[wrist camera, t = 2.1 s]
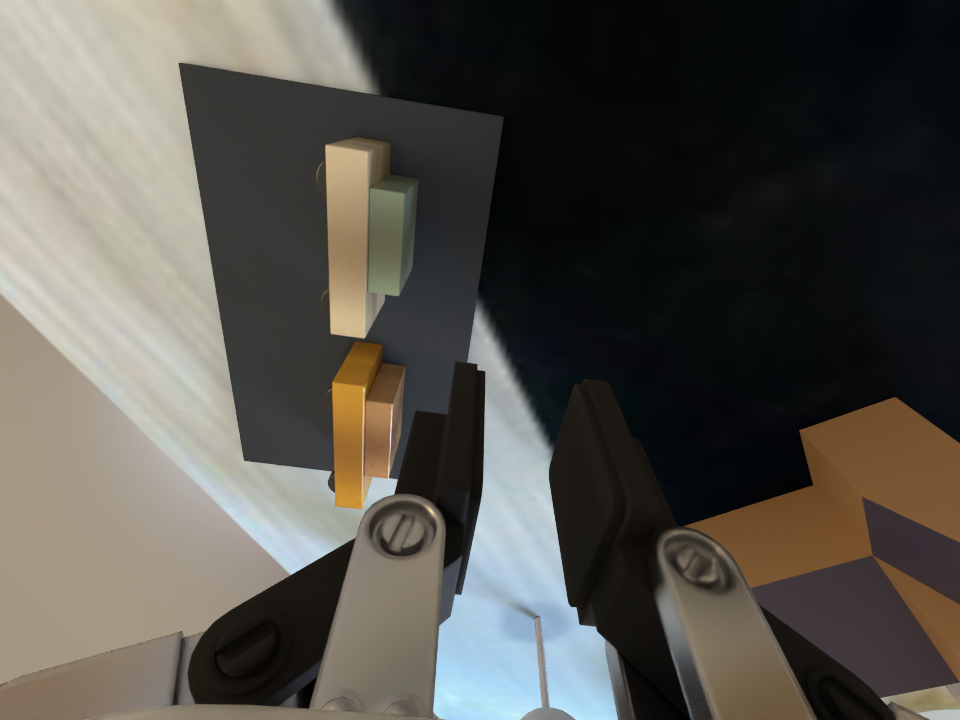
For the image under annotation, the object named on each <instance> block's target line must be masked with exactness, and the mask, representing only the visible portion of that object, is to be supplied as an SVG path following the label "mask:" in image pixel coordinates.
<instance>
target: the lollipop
mask: <svg viewBox="0 0 960 720" xmlns="http://www.w3.org/2000/svg"><path fill="white" fill-rule="evenodd" d="M535 631H536V642H537V654H538V666H539V678H540V689H541V701H542V708H538V709H535V710H533V711H531V712H529V713H527V714H526V715H525V716H524V717H523V718H522V719H521V720H575V719H574V718H573V717H571V716H570V715H569V714H567V713H566V712H564V711H562V710H559V709H556V708H550V704H549V693H548V683H547V673H546V663H545V653H544V642H543V632H542V622H541V618H540V617H536V618H535Z"/></svg>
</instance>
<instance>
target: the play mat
mask: <svg viewBox="0 0 960 720" xmlns="http://www.w3.org/2000/svg"><path fill="white" fill-rule="evenodd" d="M179 69H180V75H181V81H182V87H183V93H184V99H185V105H186V111H187V117H188V123H189V129H190V135H191V141H192V147H193V153H194V160H195V166H196V172H197V178H198V184H199V190H200V196H201V202H202V208H203V214H204V220H205V226H206V232H207V238H208V244H209V251H210V257H211V263H212V269H213V275H214V281H215V287H216V293H217V299H218V305H219V311H220V317H221V323H222V329H223V335H224V341H225V348H226V354H227V360H228V366H229V372H230V378H231V384H232V390H233V396H234V402H235V408H236V414H237V420H238V426H239V432H240V439H241V445H242V451H243V457H244V461H251V462H259V463H268V464H276V465H284V466H292V467H301V468H309V469H317V470H326V471H332V470H333V469H334V433H333V411H331V410H330V409H329V408H328V407H327V405H326V403H325V394H326V392H327V391H328V389H329V387H330V385H331V384H332V382H333V380H334V378H335V377H336V375H337V373H338V371H339V370H340V368H341V366H342V364H343V363H344V361H345V359H346V357H347V356H348V354H349V352H350V350H351V349H352V347H353V345H354V343H355V342H356V341H358V342H366V343H373V344H380V345H383V355H382V363H386V364H394V365H401V366H405V380H404V395H403V409H402V423H401V436H400V439H399V443H398V447H397V450H396V454H395V458H394V461H393V465H392V469H391V472H390V476H389V478H392V479H398V478H399V474H400V470H401V466H402V462H403V458H404V454H405V450H406V446H407V442H408V438H409V433H410V429H411V425H412V421H413V417H414V414H415V411H416V410H417V411H425V412H433V413H441V414H448V409H449V402H450V395H451V387H452V380H453V373H454V366H455V361H456V362H464V363H467V359H468V352H469V345H470V339H471V332H472V325H473V319H474V312H475V306H476V299H477V292H478V286H479V279H480V272H481V266H482V259H483V253H484V246H485V239H486V233H487V226H488V220H489V213H490V206H491V200H492V193H493V186H494V180H495V173H496V167H497V160H498V153H499V147H500V140H501V133H502V127H503V120H504V117H503V116H497V115H491V114H485V113H479V112H473V111H467V110H461V109H455V108H449V107H443V106H437V105H431V104H425V103H419V102H413V101H407V100H401V99H395V98H389V97H383V96H377V95H371V94H365V93H359V92H353V91H347V90H341V89H335V88H329V87H323V86H317V85H311V84H305V83H299V82H293V81H287V80H281V79H275V78H269V77H263V76H257V75H251V74H245V73H239V72H233V71H227V70H221V69H215V68H209V67H203V66H197V65H191V64H185V63H179ZM357 137H359V138H365V139H371V140H377V141H383V142H389V143H390V144H391V151H390V175H396V176H402V177H409V178H415V179H418V195H417V209H416V224H415V238H414V252H413V266H412V270H411V272H410V274H409V276H408V278H407V280H406V282H405V284H404V286H403V289H402V291H401V293H400V295H399V296H393V295H386V294H385V302H384V304H383V305H382V307H381V309H380V311H379V313H378V315H377V317H376V318H375V320H374V322H373V324H372V326H371V328H370V329H369V331H368V333H367V335H366V337H365V338H357V337H350V336H343V335H335V334H331V328H330V318H329V317H328V316H327V315H326V314H325V312H324V311H323V309H322V305H321V298H322V295H323V293H324V292H325V291H326V290H327V289H328V287H329V257H328V221H327V199H326V198H325V197H324V196H323V195H322V193H321V192H320V190H319V188H318V185H317V181H316V174H317V170H318V167H319V166H320V164H321V163H322V162H323V161H324V160H326V150H325V146H326V145H327V144H331V143H335V142H340V141H344V140H348V139H352V138H357Z"/></svg>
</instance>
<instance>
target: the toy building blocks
mask: <svg viewBox="0 0 960 720" xmlns="http://www.w3.org/2000/svg"><path fill="white" fill-rule="evenodd" d="M799 431H800V435H801V439H802V443H803V447H804V451H805V455H806V459H807V463H808V467H809V471H810V475H811V478H812V482H813V485H812V486H809V487H806V488H803V489H800V490H797V491H794V492H790V493H787V494H784V495H781V496H778V497H775V498H771V499H768V500H765V501H762V502H759V503H756V504H752V505H749V506H746V507H743V508H740V509H737V510H733V511H730V512H727V513H724V514H721V515H718V516H714V517H711V518H708V519H705V520H702V521H699V522H696V523H692V524H689V525H686V526H683V527H688V528H692V529H696V530H698V531H700V532H702V533H705V534H707V535H709V536H710V537H712V538H713V539H714V540H716V541H717V542H719V543H720V544H721V545H722V546H723V547H724V548H725V549H726V550H727V551H728V552H729V553H730V554H731V555H732V556H733V558H734V559H735V561H736V562H737V564H738V565H739V567H740V569H741V571H742V573H743V575H744V577H745V579H746V581H747V583H748V585H749V587H750V589H751V591H752V593H753V594H754V596H755V598H756V600H757V602H758V604H759V605H761V606H762V607H763V608H765V609H766V610H768V611H769V612H770V613H772V614H773V615H774V616H776V617H777V618H778V619H780V620H781V621H783V622H784V623H785V624H787V625H788V626H789V627H791V628H792V629H793V630H795V631H796V632H798V633H799V634H800V635H802V636H803V637H804V638H806V639H807V640H809V641H810V642H811V643H813V644H814V645H815V646H817V647H818V648H819V649H821V650H822V651H824V652H825V653H826V654H828V655H829V656H830V657H832V658H833V659H834V660H836V661H837V662H839V663H840V664H841V665H843V666H844V667H845V668H847V669H848V670H850V671H851V672H852V673H854V674H855V675H856V676H857V677H859V678H860V679H861V680H862V681H863V682H864V683H866V684H867V685H868V686H869V687H870V688H871V689H872V690H873V691H874V692H875V693H876V694H877V695H878V696H879V698H882V697H887V696H892V695H898V694H903V693H908V692H913V691H918V690H924V689H929V688H934V687H939V686H944V685H945V686H946V687H947V689H948V690H949V691H950V692H951V694H952V695H953V696H954V698H955V699H956V700H957V701H958V703H959V704H960V443H958V442H957V441H955V440H954V439H953V438H951V437H950V436H949V435H947V434H946V433H944V432H943V431H942V430H940V429H939V428H937V427H936V426H935V425H933V424H932V423H931V422H929V421H928V420H926V419H925V418H924V417H922V416H921V415H919V414H918V413H917V412H915V411H914V410H913V409H911V408H910V407H908V406H907V405H906V404H904V403H903V402H902V401H900V400H899V399H897V398H896V397H894V398H891V399H888V400H885V401H882V402H879V403H876V404H873V405H871V406H868V407H865V408H862V409H859V410H856V411H853V412H851V413H848V414H845V415H842V416H839V417H836V418H833V419H831V420H828V421H825V422H822V423H819V424H816V425H813V426H810V427H808V428H805V429H802V430H799Z"/></svg>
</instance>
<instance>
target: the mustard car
mask: <svg viewBox="0 0 960 720" xmlns="http://www.w3.org/2000/svg"><path fill="white" fill-rule="evenodd" d="M382 355H383V345H380V344H373V343H366V342H358V341H356V342H355V343H354V345H353V347H352V349H351V350H350V352H349V354H348V356H347V357H346V359H345V361H344V363H343V364H342V366H341V368H340V370H339V371H338V373H337V375H336V377H335V378H334V380H333V382H332V384H331V385H330V387H329V389H328V391H327V392H326V394H325V403H326V405H327V407H328V408H329V409H330V410H331V411H333V433H334V469H333V470H332V473H331V475H330V477H329V480H328V486H329V488H330V489H331V490H332V491H333V492H334V493H335V505H336V506H337V507H346V508H355V509H362V508H363V505H364V502H365V499H366V496H367V493H368V489H369V486H370V483H371V480H372V477H378V478H387V479H388V478H389V476H390V472H391V469H392V465H393V461H394V458H395V454H396V450H397V447H398V443H399V439H400V436H401V423H402V409H403V395H404V380H405V366H401V365H394V364H386V363H382Z"/></svg>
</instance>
